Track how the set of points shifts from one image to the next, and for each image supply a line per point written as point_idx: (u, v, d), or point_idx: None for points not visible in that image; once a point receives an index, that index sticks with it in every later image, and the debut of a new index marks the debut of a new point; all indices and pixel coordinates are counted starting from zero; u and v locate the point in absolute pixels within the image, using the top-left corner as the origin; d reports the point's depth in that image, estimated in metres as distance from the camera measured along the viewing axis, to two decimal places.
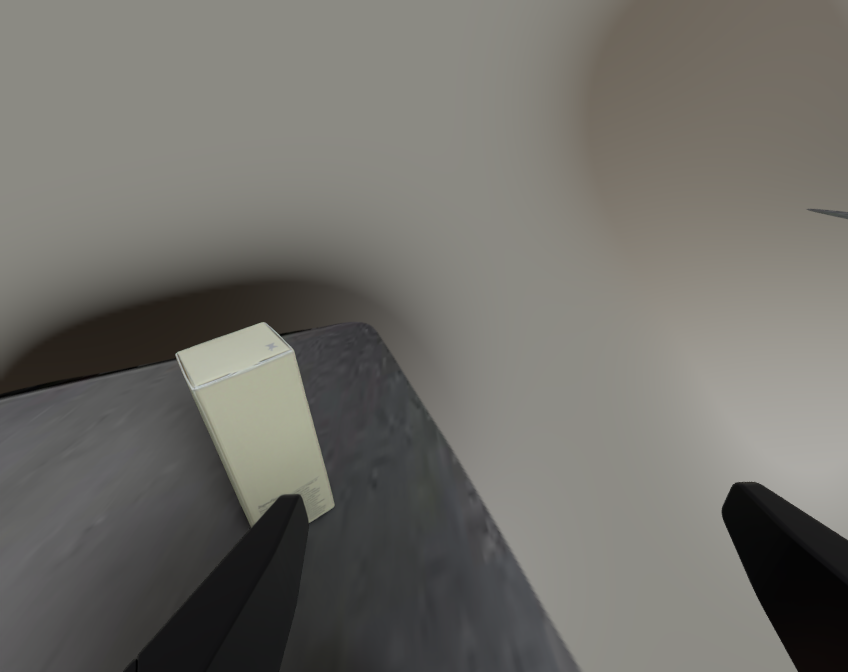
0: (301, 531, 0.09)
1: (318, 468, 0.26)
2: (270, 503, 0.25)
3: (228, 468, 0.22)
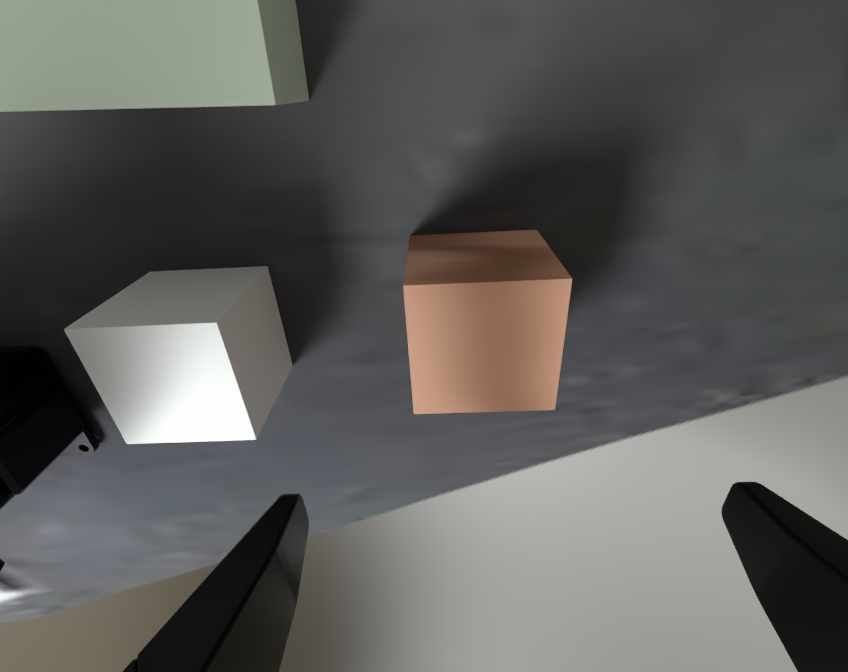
0: (301, 531, 0.09)
1: None
2: None
3: None
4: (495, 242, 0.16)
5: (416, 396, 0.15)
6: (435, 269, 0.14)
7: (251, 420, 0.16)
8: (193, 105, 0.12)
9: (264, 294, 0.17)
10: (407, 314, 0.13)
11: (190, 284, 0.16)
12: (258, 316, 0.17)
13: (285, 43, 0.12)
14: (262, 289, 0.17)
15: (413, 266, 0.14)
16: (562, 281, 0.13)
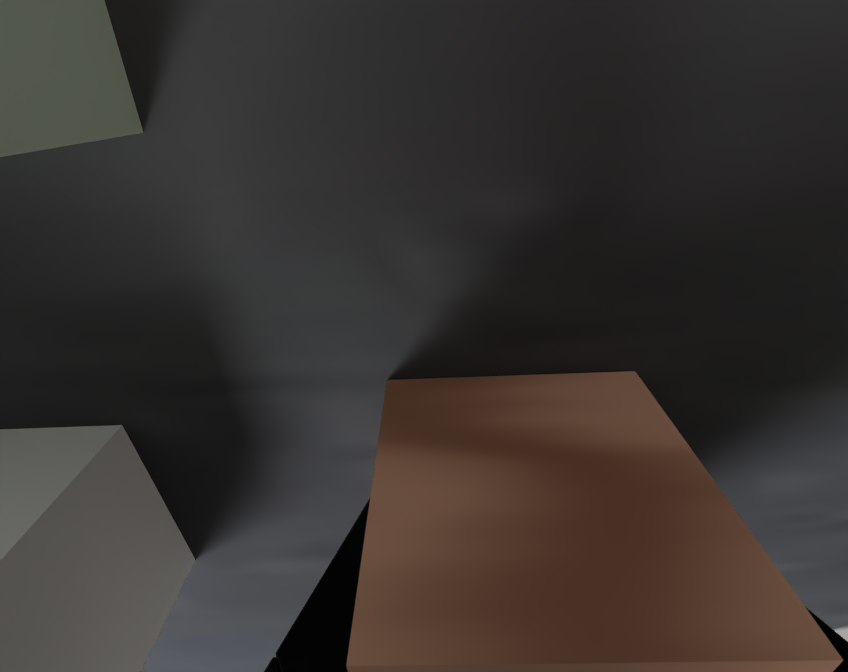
0: None
1: None
2: None
3: None
4: (563, 420, 0.07)
5: None
6: (438, 554, 0.05)
7: None
8: None
9: (109, 487, 0.09)
10: None
11: None
12: (84, 546, 0.08)
13: None
14: (102, 481, 0.09)
15: (384, 531, 0.06)
16: (811, 664, 0.04)
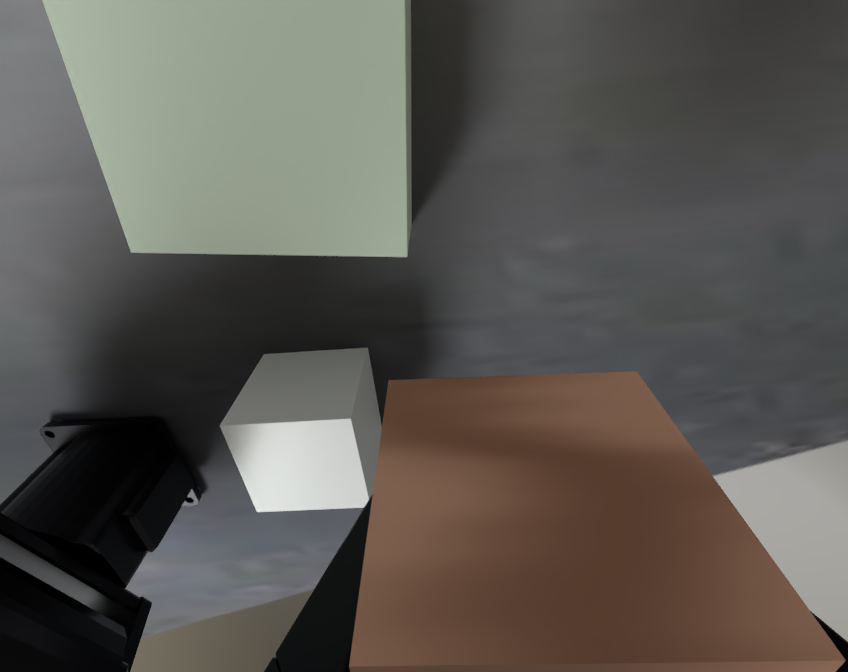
0: None
1: None
2: None
3: None
4: (565, 420, 0.07)
5: None
6: (440, 554, 0.05)
7: (367, 491, 0.18)
8: (338, 255, 0.14)
9: (367, 374, 0.20)
10: None
11: (307, 371, 0.19)
12: (366, 396, 0.19)
13: (409, 196, 0.15)
14: (366, 371, 0.19)
15: (386, 532, 0.06)
16: (814, 665, 0.04)
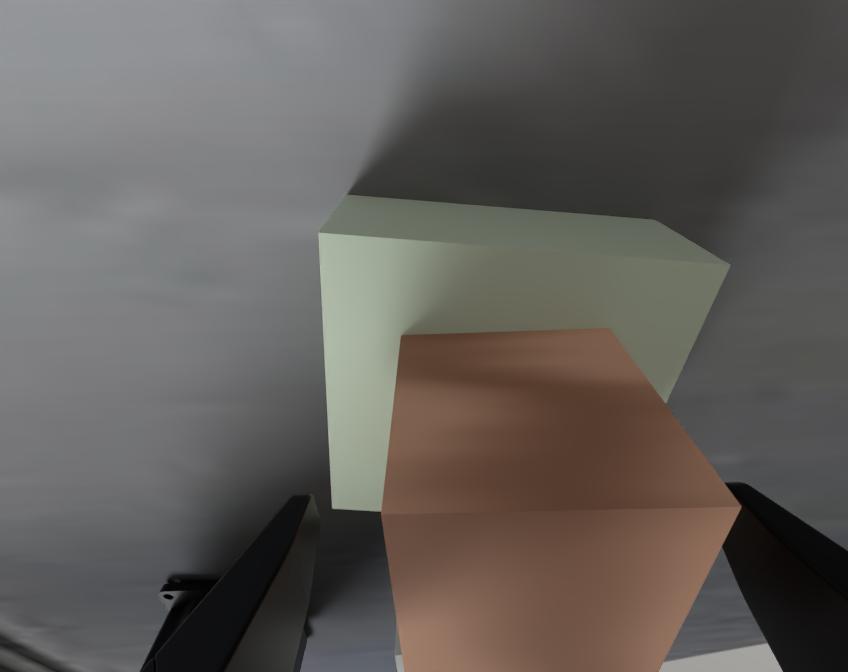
0: (313, 531, 0.09)
1: None
2: None
3: None
4: (548, 362, 0.09)
5: (409, 656, 0.08)
6: (447, 449, 0.07)
7: None
8: None
9: None
10: (390, 554, 0.07)
11: None
12: None
13: None
14: None
15: (404, 436, 0.07)
16: (719, 511, 0.06)
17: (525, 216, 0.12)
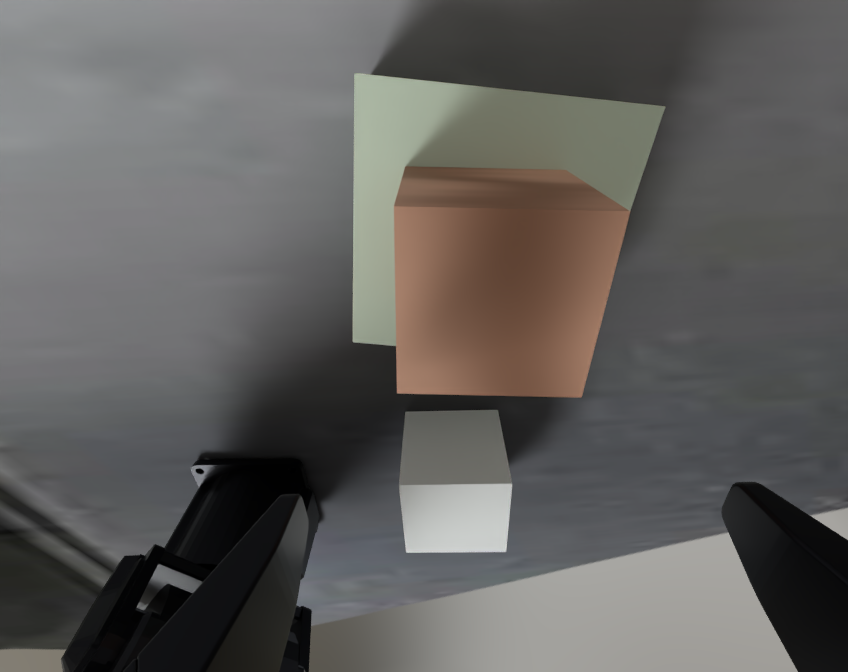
0: (301, 531, 0.09)
1: None
2: None
3: None
4: (516, 176, 0.12)
5: (402, 369, 0.11)
6: (439, 194, 0.10)
7: (506, 539, 0.21)
8: None
9: None
10: (397, 250, 0.10)
11: (453, 432, 0.22)
12: None
13: None
14: None
15: (409, 190, 0.10)
16: (616, 214, 0.09)
17: None
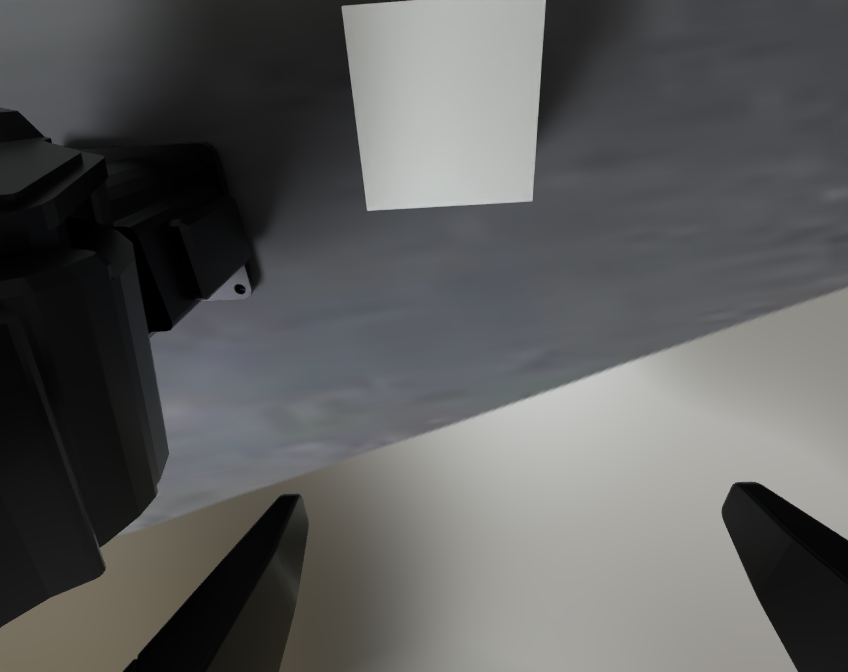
0: (301, 531, 0.09)
1: None
2: None
3: None
4: None
5: None
6: None
7: (533, 170, 0.13)
8: None
9: None
10: None
11: None
12: None
13: None
14: None
15: None
16: None
17: None
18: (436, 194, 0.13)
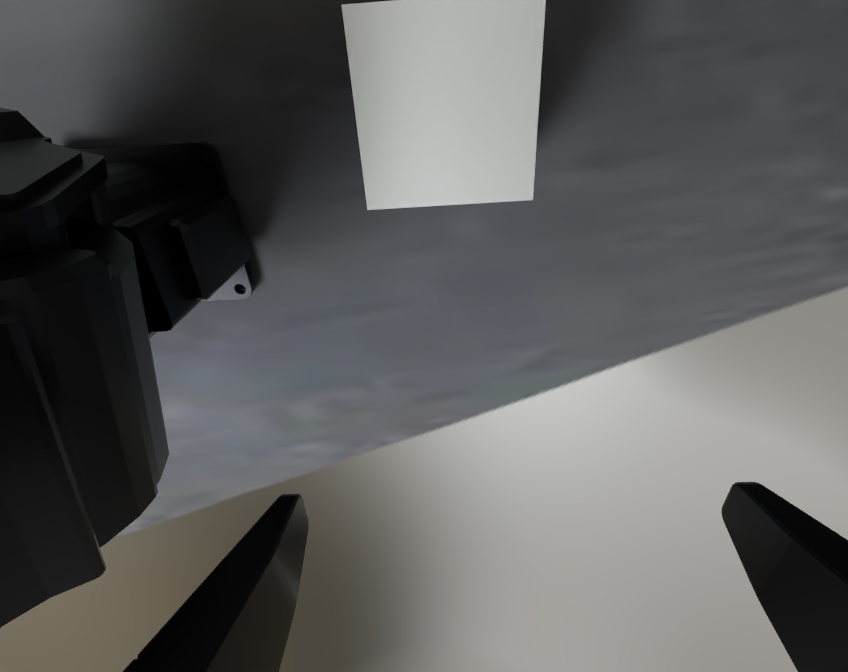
0: (301, 531, 0.09)
1: None
2: None
3: None
4: None
5: None
6: None
7: (533, 169, 0.12)
8: None
9: None
10: None
11: None
12: None
13: None
14: None
15: None
16: None
17: None
18: (436, 193, 0.13)
